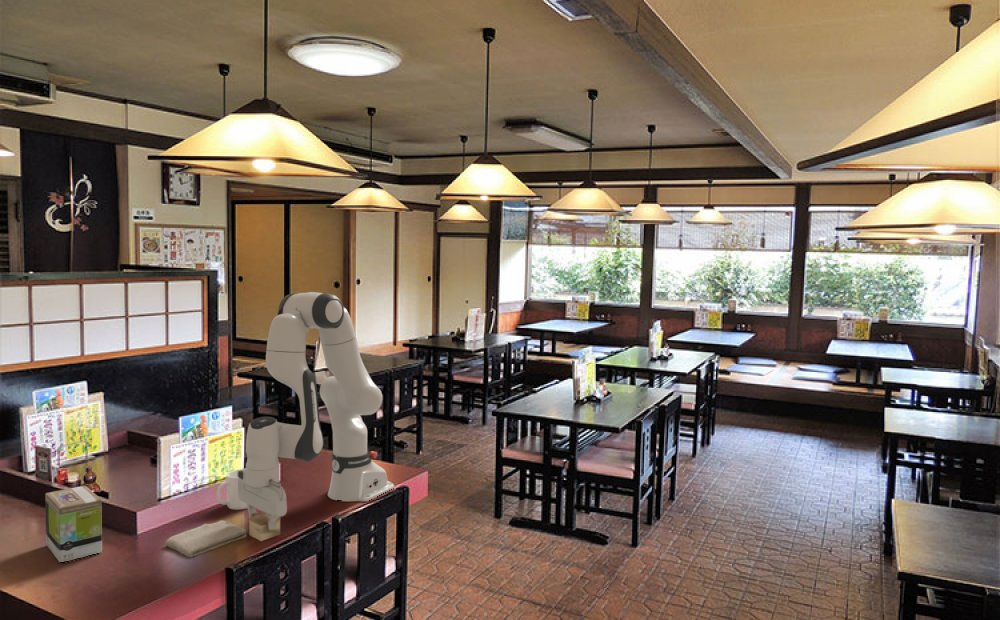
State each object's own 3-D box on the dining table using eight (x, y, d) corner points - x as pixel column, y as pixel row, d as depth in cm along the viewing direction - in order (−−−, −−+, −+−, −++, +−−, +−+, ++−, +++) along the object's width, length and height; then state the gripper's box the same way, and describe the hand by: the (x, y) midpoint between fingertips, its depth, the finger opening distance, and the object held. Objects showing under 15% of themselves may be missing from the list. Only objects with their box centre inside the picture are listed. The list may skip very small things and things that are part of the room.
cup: (260, 504, 214) (260, 473, 213) (224, 515, 205) (223, 483, 204) (246, 498, 220) (245, 467, 219) (210, 508, 210) (210, 476, 209)
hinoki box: (268, 528, 197) (268, 511, 196) (280, 534, 193) (280, 517, 193) (248, 535, 192) (248, 517, 192) (260, 541, 188) (260, 524, 188)
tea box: (104, 553, 179) (102, 498, 177) (59, 565, 172) (57, 508, 170) (87, 535, 189) (86, 483, 188) (45, 545, 182) (43, 492, 181)
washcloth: (249, 537, 192) (249, 526, 191) (190, 560, 177) (189, 549, 177) (224, 526, 198) (223, 516, 198) (164, 548, 183) (164, 537, 183)
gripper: (293, 482, 187) (292, 531, 188) (254, 465, 200) (253, 511, 201) (272, 487, 182) (271, 537, 183) (233, 469, 195) (233, 516, 196)
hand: (261, 523), depth 192 cm, fingers open, 8 cm apart
